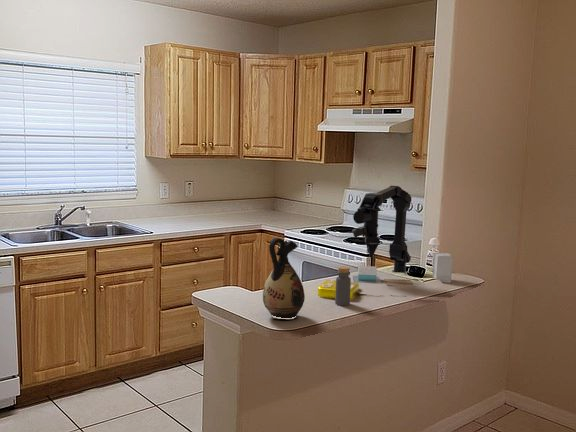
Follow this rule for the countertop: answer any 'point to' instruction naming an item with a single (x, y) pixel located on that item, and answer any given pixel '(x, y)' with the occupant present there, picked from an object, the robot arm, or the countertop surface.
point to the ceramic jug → (283, 283)
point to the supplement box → (442, 267)
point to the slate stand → (355, 279)
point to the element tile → (329, 289)
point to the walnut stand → (399, 283)
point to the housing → (367, 273)
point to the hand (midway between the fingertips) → (369, 255)
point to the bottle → (343, 286)
